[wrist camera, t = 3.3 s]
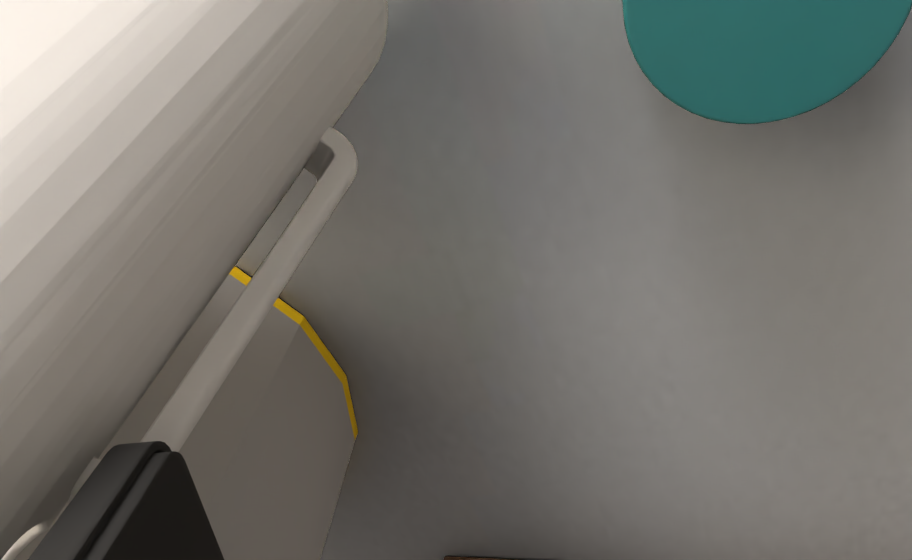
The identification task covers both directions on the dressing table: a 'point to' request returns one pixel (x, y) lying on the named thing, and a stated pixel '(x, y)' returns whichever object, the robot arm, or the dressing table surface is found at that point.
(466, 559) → the grid
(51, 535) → the robot arm
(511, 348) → the dressing table surface
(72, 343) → the cable organizer
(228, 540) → the soap bottle
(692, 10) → the cylinder
